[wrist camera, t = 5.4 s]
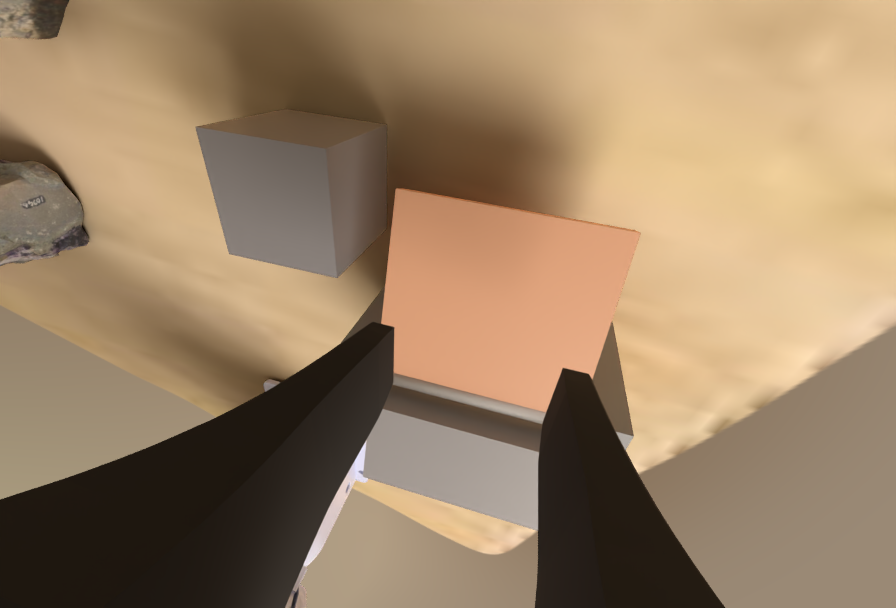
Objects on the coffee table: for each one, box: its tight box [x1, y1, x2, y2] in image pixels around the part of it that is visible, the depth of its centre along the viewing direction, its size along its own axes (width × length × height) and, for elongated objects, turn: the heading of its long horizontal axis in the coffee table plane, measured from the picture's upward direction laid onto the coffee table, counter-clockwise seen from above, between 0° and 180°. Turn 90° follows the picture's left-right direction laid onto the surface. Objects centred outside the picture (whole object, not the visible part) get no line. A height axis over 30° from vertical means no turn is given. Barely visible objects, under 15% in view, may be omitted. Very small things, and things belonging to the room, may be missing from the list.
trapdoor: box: [363, 188, 641, 531], centre depth 15 cm, size 12×8×2 cm
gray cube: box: [196, 109, 387, 278], centre depth 16 cm, size 5×5×5 cm
